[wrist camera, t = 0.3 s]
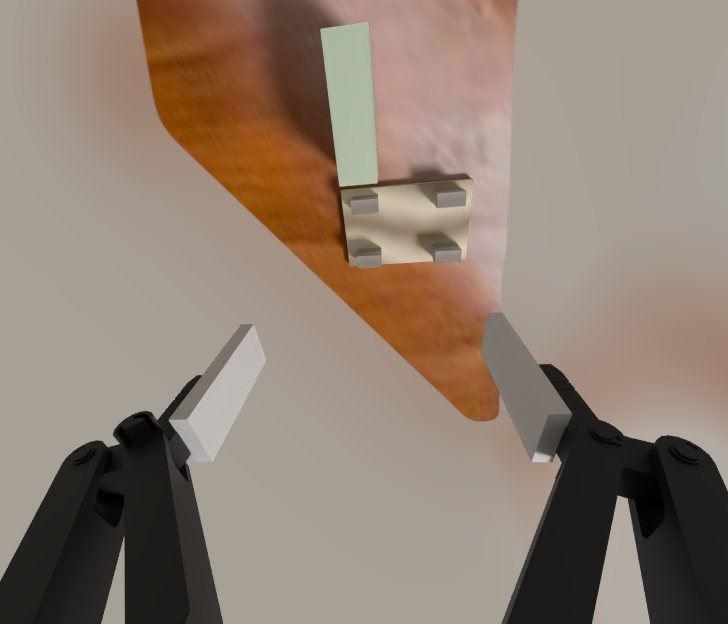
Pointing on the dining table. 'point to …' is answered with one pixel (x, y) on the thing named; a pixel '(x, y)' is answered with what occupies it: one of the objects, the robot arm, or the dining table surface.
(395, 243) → the hinge bracket
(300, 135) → the dining table surface
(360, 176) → the door panel
